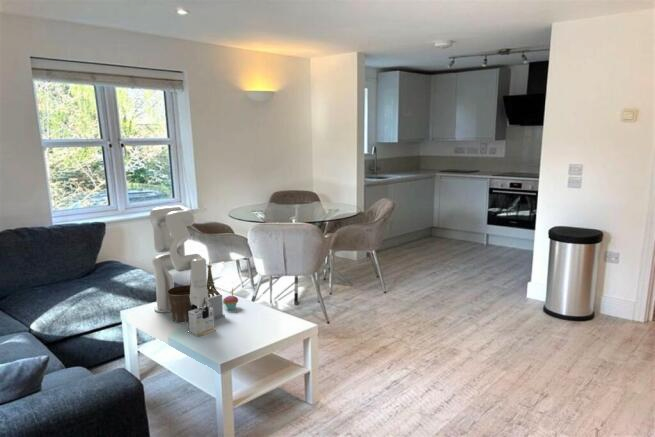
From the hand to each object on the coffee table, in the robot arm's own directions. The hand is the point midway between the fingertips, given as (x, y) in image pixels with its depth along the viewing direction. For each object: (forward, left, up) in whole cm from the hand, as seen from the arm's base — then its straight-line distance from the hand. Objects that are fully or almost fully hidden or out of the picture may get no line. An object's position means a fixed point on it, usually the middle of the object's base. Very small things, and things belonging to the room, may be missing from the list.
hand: (200, 315), depth 228 cm
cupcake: (-14, +29, -8) cm, 33 cm away
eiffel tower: (-37, +31, -9) cm, 49 cm away
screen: (-9, +12, -8) cm, 17 cm away
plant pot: (-20, +3, -8) cm, 22 cm away
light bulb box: (+1, 0, -8) cm, 8 cm away
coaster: (+1, 0, -8) cm, 8 cm away
